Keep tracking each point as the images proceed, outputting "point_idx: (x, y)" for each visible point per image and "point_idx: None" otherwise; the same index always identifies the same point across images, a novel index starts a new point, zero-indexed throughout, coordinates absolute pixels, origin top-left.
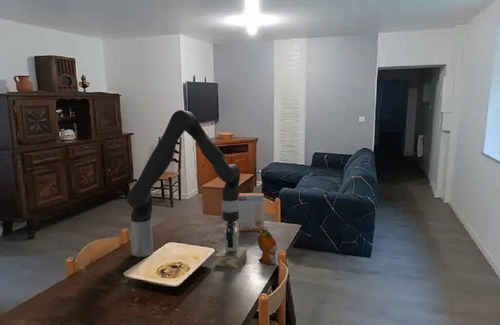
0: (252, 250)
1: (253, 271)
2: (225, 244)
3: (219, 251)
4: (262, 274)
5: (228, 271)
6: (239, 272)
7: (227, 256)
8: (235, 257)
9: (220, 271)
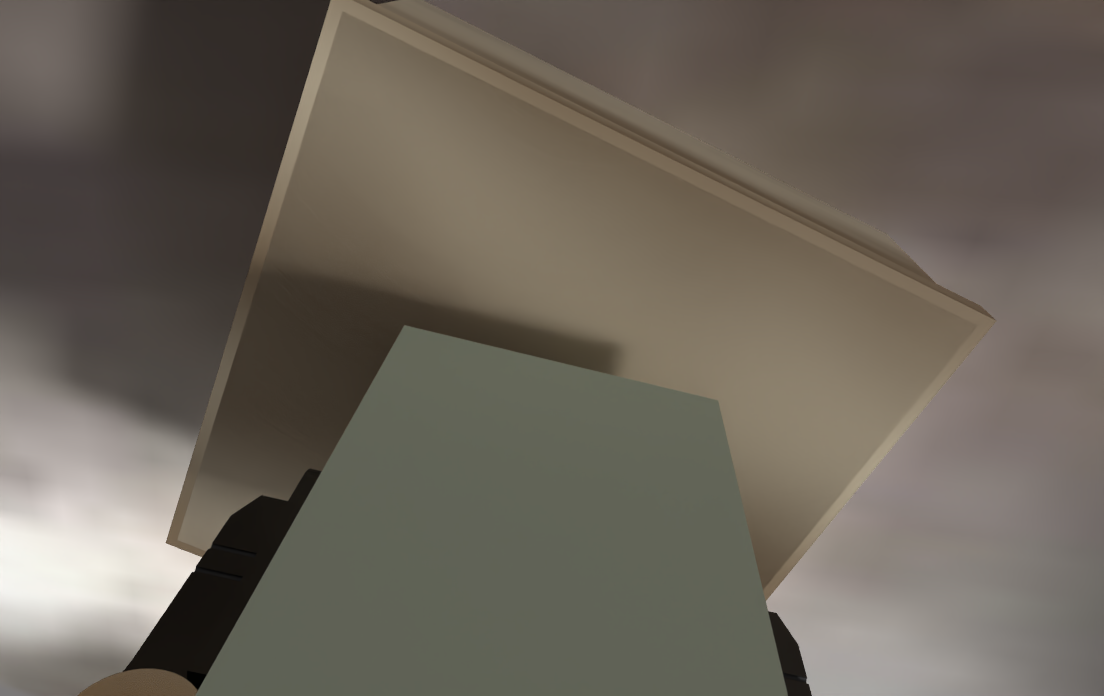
0: (890, 688)
1: (151, 576)
2: (344, 446)
3: (584, 149)
4: (74, 652)
5: (121, 231)
6: (101, 399)
7: (237, 326)
8: (188, 480)
9: (108, 76)
